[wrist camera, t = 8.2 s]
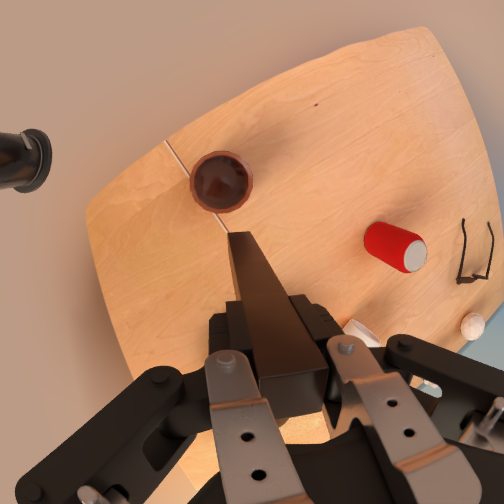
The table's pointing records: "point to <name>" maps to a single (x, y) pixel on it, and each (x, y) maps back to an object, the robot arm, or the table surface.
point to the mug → (362, 333)
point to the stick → (276, 335)
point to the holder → (221, 182)
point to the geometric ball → (472, 326)
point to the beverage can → (396, 246)
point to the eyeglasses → (459, 278)
